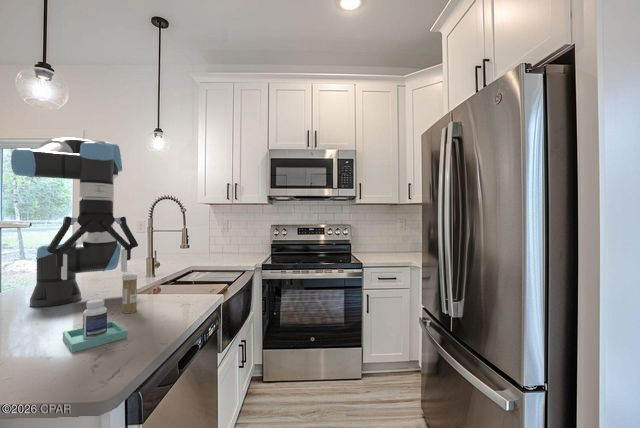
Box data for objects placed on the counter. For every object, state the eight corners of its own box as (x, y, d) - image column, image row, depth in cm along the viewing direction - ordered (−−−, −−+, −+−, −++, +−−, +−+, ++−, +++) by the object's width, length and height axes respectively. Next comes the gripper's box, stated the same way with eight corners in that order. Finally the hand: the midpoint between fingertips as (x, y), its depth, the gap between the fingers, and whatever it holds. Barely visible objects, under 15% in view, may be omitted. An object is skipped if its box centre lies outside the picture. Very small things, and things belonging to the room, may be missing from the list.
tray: (62, 339, 82) (62, 331, 82) (113, 326, 91) (114, 320, 91) (71, 352, 74) (71, 344, 74) (126, 337, 83) (126, 330, 83)
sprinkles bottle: (137, 312, 105) (137, 274, 105) (121, 314, 102) (122, 275, 102) (136, 308, 109) (137, 272, 109) (121, 310, 106) (122, 273, 106)
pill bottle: (111, 333, 84) (112, 299, 84) (91, 341, 79) (92, 304, 79) (98, 331, 86) (98, 297, 86) (78, 338, 81) (78, 302, 81)
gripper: (36, 196, 71) (36, 285, 71) (150, 200, 90) (149, 270, 90) (33, 197, 76) (32, 280, 76) (141, 201, 94) (140, 267, 95)
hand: (95, 275), depth 83 cm, fingers open, 13 cm apart
